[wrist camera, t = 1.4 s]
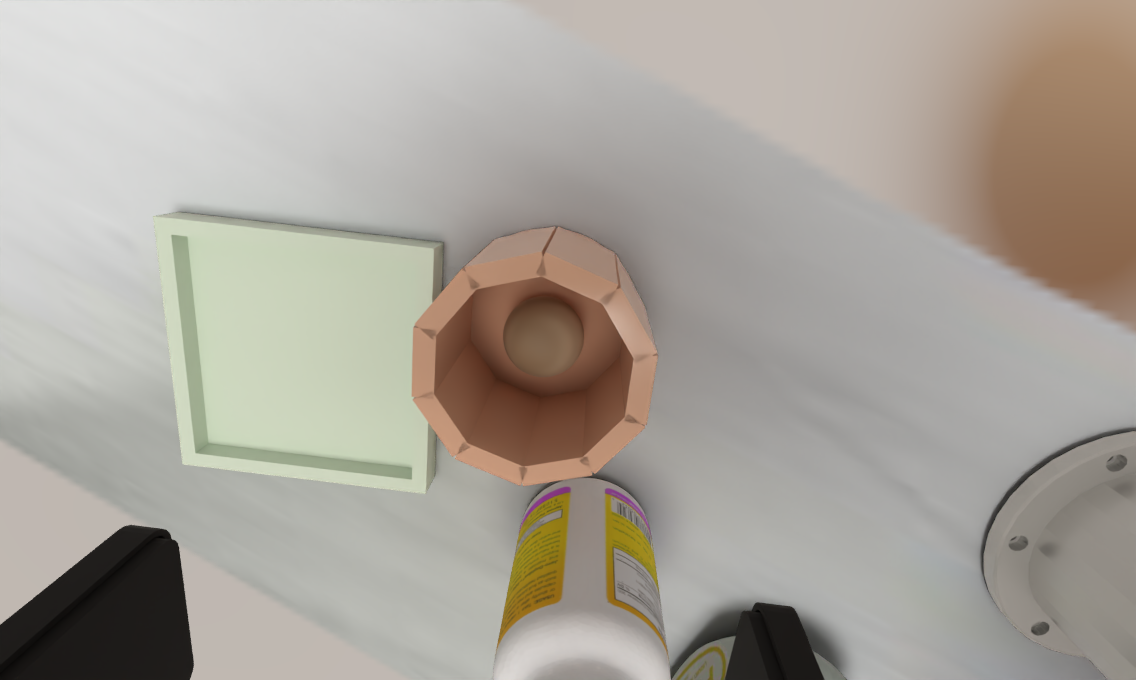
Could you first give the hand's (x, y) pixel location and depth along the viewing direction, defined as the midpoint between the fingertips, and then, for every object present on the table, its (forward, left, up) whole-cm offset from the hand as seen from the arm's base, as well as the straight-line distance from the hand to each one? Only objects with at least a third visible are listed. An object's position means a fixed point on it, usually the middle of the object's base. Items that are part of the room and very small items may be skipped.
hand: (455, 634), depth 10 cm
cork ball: (0, 0, -18) cm, 18 cm away
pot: (0, 0, -18) cm, 18 cm away
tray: (+11, +3, -18) cm, 22 cm away
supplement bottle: (-3, +11, -18) cm, 22 cm away
